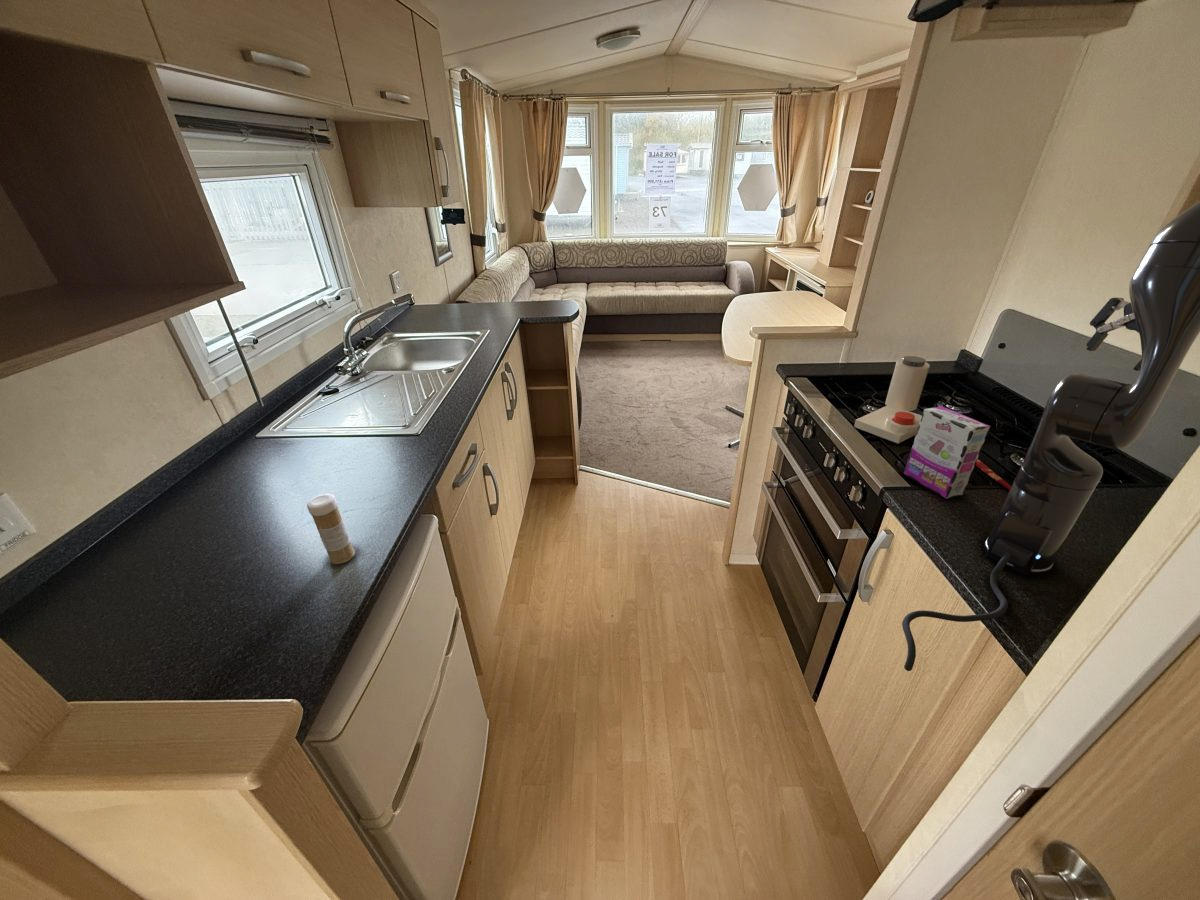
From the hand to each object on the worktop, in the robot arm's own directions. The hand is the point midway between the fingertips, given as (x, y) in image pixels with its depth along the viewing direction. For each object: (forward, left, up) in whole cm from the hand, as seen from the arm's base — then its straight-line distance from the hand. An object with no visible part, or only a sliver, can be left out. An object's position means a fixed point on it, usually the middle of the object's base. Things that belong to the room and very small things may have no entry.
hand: (1113, 359), depth 96 cm
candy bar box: (-29, +13, -26) cm, 41 cm away
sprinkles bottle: (-142, +65, -26) cm, 158 cm away
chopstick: (-15, +8, -26) cm, 31 cm away
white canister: (-3, +35, -22) cm, 41 cm away
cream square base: (-9, +33, -26) cm, 43 cm away
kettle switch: (-12, +30, -22) cm, 39 cm away
